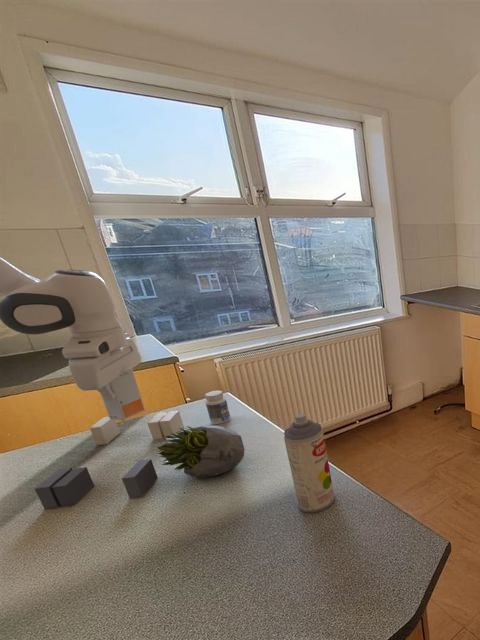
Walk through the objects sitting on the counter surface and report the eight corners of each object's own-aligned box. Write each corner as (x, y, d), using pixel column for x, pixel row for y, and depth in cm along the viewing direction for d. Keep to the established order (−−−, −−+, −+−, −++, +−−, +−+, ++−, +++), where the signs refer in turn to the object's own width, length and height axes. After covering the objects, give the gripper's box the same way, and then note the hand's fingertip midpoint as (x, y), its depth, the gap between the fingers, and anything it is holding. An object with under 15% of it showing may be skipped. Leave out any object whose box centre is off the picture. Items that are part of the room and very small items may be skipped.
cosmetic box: (124, 421, 106) (107, 376, 102) (109, 419, 107) (92, 375, 102) (147, 410, 112) (132, 367, 107) (133, 409, 113) (117, 366, 108)
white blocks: (96, 445, 107) (89, 427, 105) (110, 434, 113) (103, 417, 111) (174, 437, 112) (168, 420, 110) (184, 426, 117) (178, 410, 115)
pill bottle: (227, 423, 119) (220, 395, 116) (208, 425, 118) (200, 397, 115) (233, 415, 123) (226, 389, 120) (214, 417, 122) (207, 390, 119)
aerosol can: (329, 512, 86) (313, 423, 78) (293, 514, 85) (273, 424, 77) (338, 491, 92) (324, 407, 84) (305, 492, 91) (288, 408, 84)
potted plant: (246, 466, 94) (158, 474, 84) (235, 480, 103) (154, 489, 93) (243, 414, 98) (159, 416, 88) (233, 432, 106) (154, 435, 96)
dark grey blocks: (44, 509, 85) (34, 488, 83) (67, 488, 91) (58, 468, 89) (142, 497, 89) (134, 476, 87) (158, 477, 95) (151, 458, 93)
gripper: (110, 329, 110) (127, 378, 116) (55, 353, 92) (79, 411, 97) (139, 327, 112) (155, 377, 117) (91, 351, 94) (112, 408, 99)
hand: (120, 393), depth 107 cm, fingers closed on cosmetic box, 7 cm apart
